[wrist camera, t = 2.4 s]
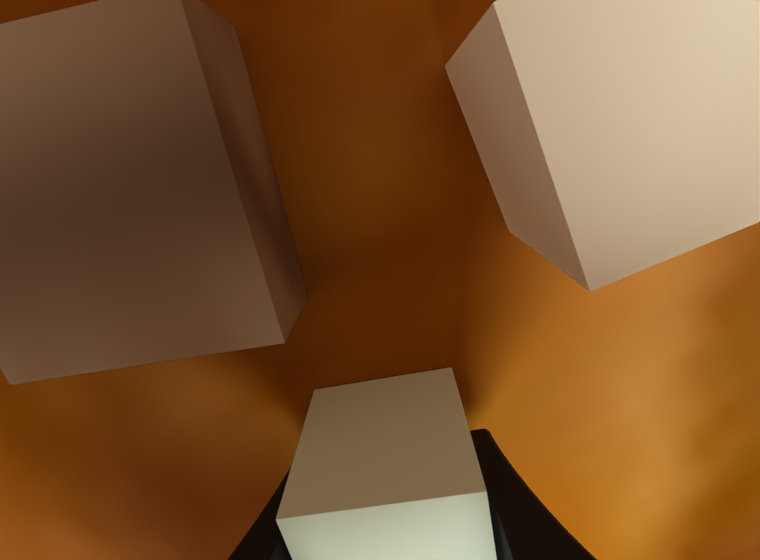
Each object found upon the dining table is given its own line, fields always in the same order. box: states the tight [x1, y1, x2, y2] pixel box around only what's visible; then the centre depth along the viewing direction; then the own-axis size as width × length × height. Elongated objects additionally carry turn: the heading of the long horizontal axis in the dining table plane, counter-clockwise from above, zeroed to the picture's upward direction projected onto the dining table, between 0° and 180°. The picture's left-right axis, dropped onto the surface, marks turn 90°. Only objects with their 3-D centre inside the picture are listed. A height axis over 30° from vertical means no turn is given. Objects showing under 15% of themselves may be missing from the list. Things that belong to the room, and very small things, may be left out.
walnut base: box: [0, 0, 308, 385], centre depth 9 cm, size 7×7×3 cm
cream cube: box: [445, 0, 760, 292], centre depth 7 cm, size 4×4×4 cm
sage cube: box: [276, 367, 497, 560], centre depth 11 cm, size 4×4×4 cm
